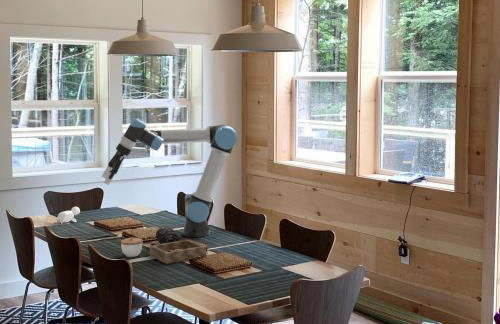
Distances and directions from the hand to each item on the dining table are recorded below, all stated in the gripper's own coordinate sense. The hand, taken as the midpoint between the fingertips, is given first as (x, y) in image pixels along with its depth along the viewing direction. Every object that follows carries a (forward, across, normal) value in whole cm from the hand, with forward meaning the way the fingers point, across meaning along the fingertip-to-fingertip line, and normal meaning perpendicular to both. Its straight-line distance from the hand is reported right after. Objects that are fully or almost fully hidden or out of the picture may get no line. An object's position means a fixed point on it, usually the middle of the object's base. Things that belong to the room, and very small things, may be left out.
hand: (104, 180), depth 384 cm
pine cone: (+12, +17, +44) cm, 49 cm away
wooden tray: (+10, +39, +43) cm, 59 cm away
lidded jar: (+22, +30, +25) cm, 45 cm away
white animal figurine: (+44, -60, +6) cm, 75 cm away
